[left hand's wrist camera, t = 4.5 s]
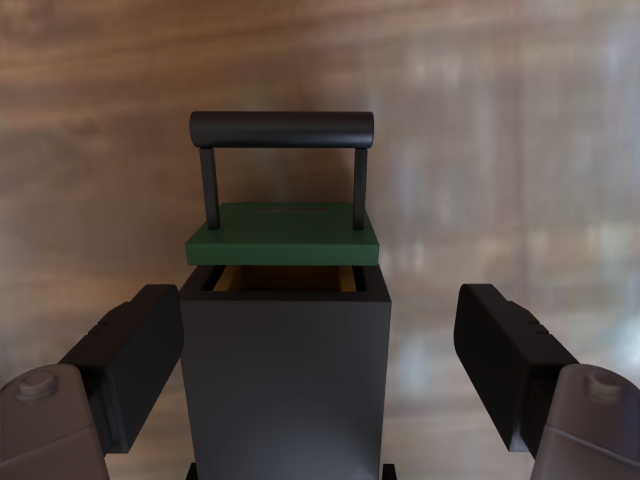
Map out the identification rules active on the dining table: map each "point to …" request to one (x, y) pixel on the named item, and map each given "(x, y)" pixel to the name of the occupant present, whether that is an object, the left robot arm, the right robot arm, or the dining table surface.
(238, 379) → the cabinet
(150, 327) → the left robot arm
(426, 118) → the dining table surface
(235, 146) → the drawer
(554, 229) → the dining table surface
